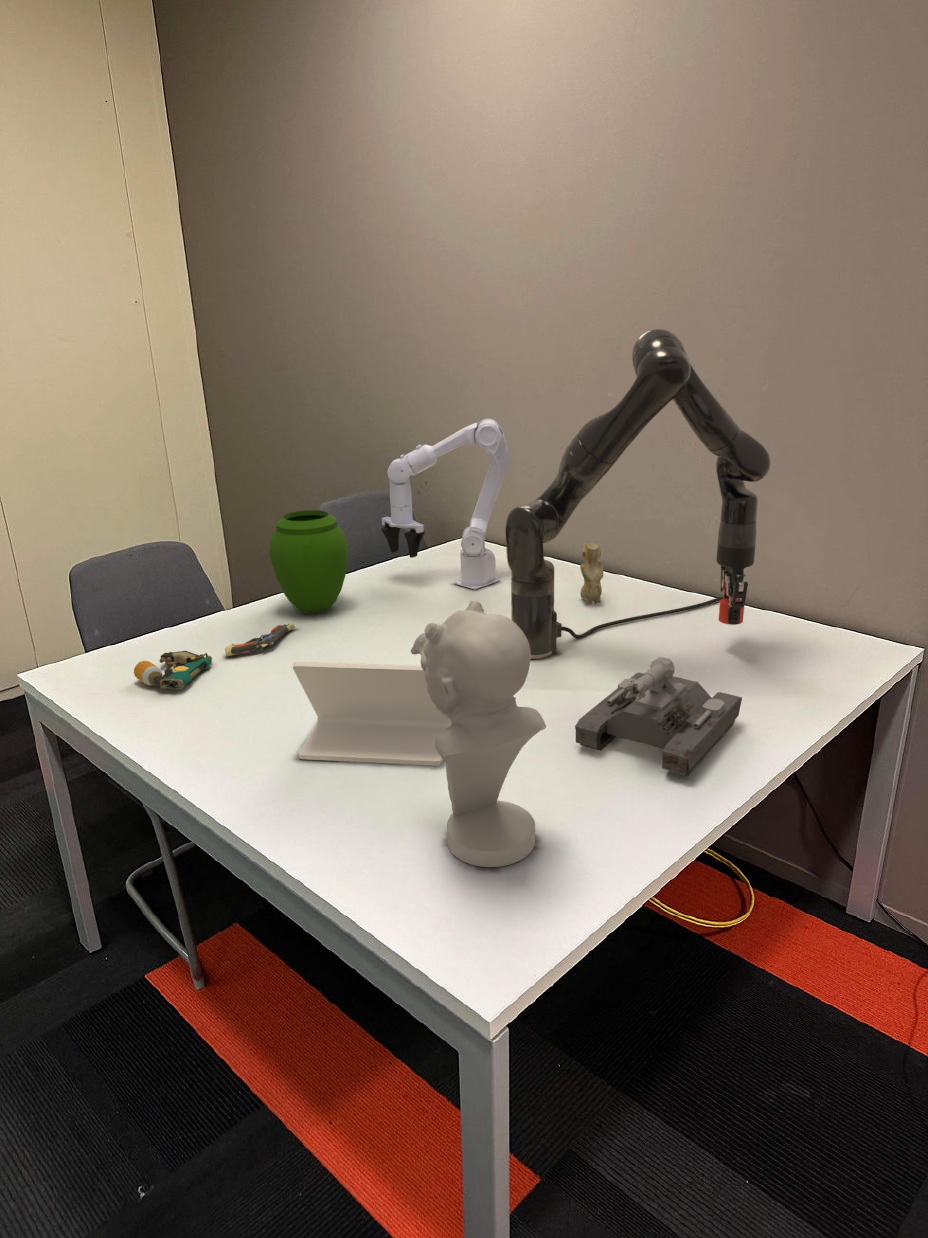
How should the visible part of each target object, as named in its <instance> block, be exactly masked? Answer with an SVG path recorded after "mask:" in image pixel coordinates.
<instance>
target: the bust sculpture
mask: <svg viewBox="0 0 928 1238" xmlns="http://www.w3.org/2000/svg"><path fill="white" fill-rule="evenodd" d="M530 653H531V652H530V646H529V643H528V640H527V638H526V636H525V634H524V633H523V632H522V630H521V629H520V628H519V627H518V626H517V625H516V624H515V623H514V622H513V621H512V620H511V618H508V617H507V616H504V615H503V614H502V615H501V614H496V613H485V609H484V607H483V605H482V603H481V602H480V601H478V600H473V599H472V600H470V601H469V603H468V605H467V607H466V609H460V610H457V611H455V612H453V613H451V615H449V616H448V617H447V618H446V619H445V620H444V622H442V624H441V623H435V622H430V623H428V624H427V625H426V626H425V628H424V632H423V633H421V634H419V635H418V636H417V637H416V638H415V640H414V642H413V645H412V647H411V649H410V654H412V655H420V666H421V667H422V669H423V670H424V671H425V681H426V683H427V691H428V693H429V695H430V698H431V701H432V702H433V703H434V704H435V706H436V708H437V709H438V710H439V711H440V712H441V713H442V714H443V715H446V716H447V717H448V718H449V719H450V720H451V726H450V727H448V728H446V729H445V730H443V731H442V732H441V733H440V734H439V735H438V736H437V737H436V740H435V747H436V750H437V752H438V753H439V755H440V756H441V758H442V759H443V760H442V762H444V763H445V771H446V781H447V790H448V796H449V800H450V803H451V810H452V813H451V814H450V815H449V817H448V819H447V822H446V844H447V847H448V849H449V851H450V852H451V854H452V855H453V856H454V857H456V858H457V859H459V860H460V861H462V862H463V863H466V864H469V865H471V866H476V867H483V868H498V867H505V866H509V865H512V864H517V862H520V861H521V860H523V859H525V858H527V856H528V855H530V854H531V852H532V851H533V849H535V848H534V847H535V845H536V822H535V821H536V820H535V819H534V817H533V816H532V814H531V813H530V812H529V811H528V810H526V809H525V808H524V807H522V806H520V805H517V804H515V803H513V802H509V801H504V800H499V796H500V793H501V790H502V788H503V785H504V783H505V780H506V778H507V776H508V773H509V771H510V769H511V768H512V765H513V763H514V761H515V760H516V759H517V756H518V755H519V753H520V752H521V750H522V749H523V748H524V747H525V745H526V744H527V743H528V742H529V741H530V740H531V739H532V738H533V737H535V735H537V734H538V733H539V732H541V731H544V730H545V729H546V728H547V725H546V723H545V720H544V718H543V717H542V714H541V713H540V712H539V711H538V710H537V709H535V708H533V707H530V706H518V705H517V701H516V699H517V698H516V696H515V695H516V694H517V693H519V691H521V689H522V688H523V686H524V684H525V683H526V680H527V678H528V675H529V669H530V666H531V659H530V656H531V655H530Z"/></svg>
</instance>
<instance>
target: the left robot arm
mask: <svg viewBox="0 0 928 1238" xmlns="http://www.w3.org/2000/svg"><path fill="white" fill-rule="evenodd" d="M476 443H477V444H478V446H480V447H481V449H483V450H484V451H485V452H486V454H487V456H488V457H489V460H490V463H489V466H488V468H487V472H486V475H485V478H484V481H483V483H482V486H481V489H480V493H479V495H478V499H477V502H476V504H475V507H474V511H473V513H472V516H471V518H470V520H469V523H468V524H467V526H466V527H464V529H463V531H462V534H461V536H462V537H461V541H460V547H461V549H460V553H459V555H460V579H459V580H457V581H454V585H457V586H461V587H464V588H468V589H471V590H478V589H481V588H483V587H486V586H489V585H492V584H495V583H497V582H499V579H497V575H496V574H497V573H496V572H497V569H496V557H495V554H494V552H493V551H492V550H491V549H490V548H486V546H485V545H486V543H485V540H486V532H487V529H488V526H489V521H490V519H491V516H492V513H493V510H494V507H495V504H496V501H497V498H498V495H499V493H500V490H501V487H502V484H503V481H504V478H505V476H506V473H507V470H508V467H509V464H510V462H511V461H510V460H511V455H510V451H509V447H508V444H507V441H506V436H505V433H504V430H503V429H502V427H501V426H500V424H499V423H498V422H497V421H496V420H495V419H494V418H490V417H489V418H484V419H482V420H480V421H479V422H474V423H472V424H469V425H467V426H465V427H463V428H461V429H459V430H458V431H456V432H454V433H453V434H451V435H449V436H447V437H446V438H444V439H443V440H441V441H439V442H437V443H436V444H434V445H430V444H423V445H422V444H418V445H416V447H415V449H414V450H412V451H410V452H409V453H406V454H401V455H399V457H400V458H396V459H394V460H392V462H391V463H390V464H389V466H388V468H387V478H388V479H389V481H388V482H389V504H390V516H383V517H381V525H382V526H383V527H381V532H382V534H383V535H384V537H385V539H386V541H387V544H388V547H389V551H390V553H392V554H394V553H396V552H399V549H400V547H399V546H400V533H401V530H407V531H406V532H403V533H404V534H403V535H404V537H405V540H406V543H407V548H408V556H409V558H411V559H412V558H416V557H418V553H419V548H420V545H421V542H422V540H423V537H424V535H425V530H424V524H423V523H419V522H417V521H416V520H414V517H413V497H412V487H411V478H410V477H411V476H417V475H418V474H420V473H422V472H424V471H426V470H428V469H429V468H431V467H433V466H435V465H436V464H437V461H438V458H440V457H442V456H444V455H445V454H448V453H449V452H451V451H454V450H456V449H458V448H460V447H462V446H464V445H467V446H473V447H475V446H476Z"/></svg>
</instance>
